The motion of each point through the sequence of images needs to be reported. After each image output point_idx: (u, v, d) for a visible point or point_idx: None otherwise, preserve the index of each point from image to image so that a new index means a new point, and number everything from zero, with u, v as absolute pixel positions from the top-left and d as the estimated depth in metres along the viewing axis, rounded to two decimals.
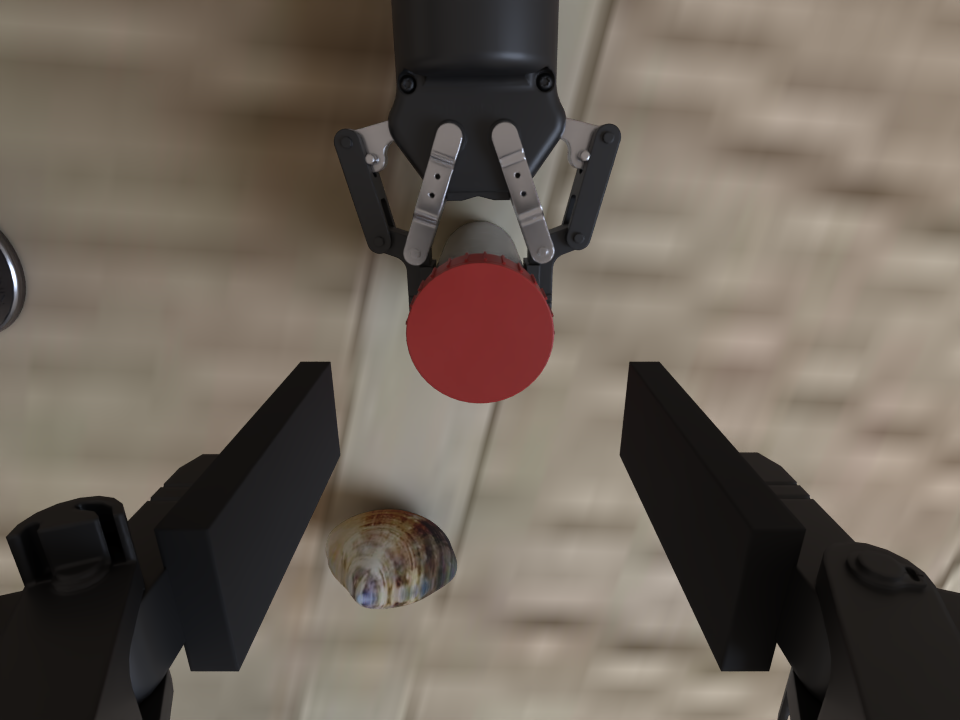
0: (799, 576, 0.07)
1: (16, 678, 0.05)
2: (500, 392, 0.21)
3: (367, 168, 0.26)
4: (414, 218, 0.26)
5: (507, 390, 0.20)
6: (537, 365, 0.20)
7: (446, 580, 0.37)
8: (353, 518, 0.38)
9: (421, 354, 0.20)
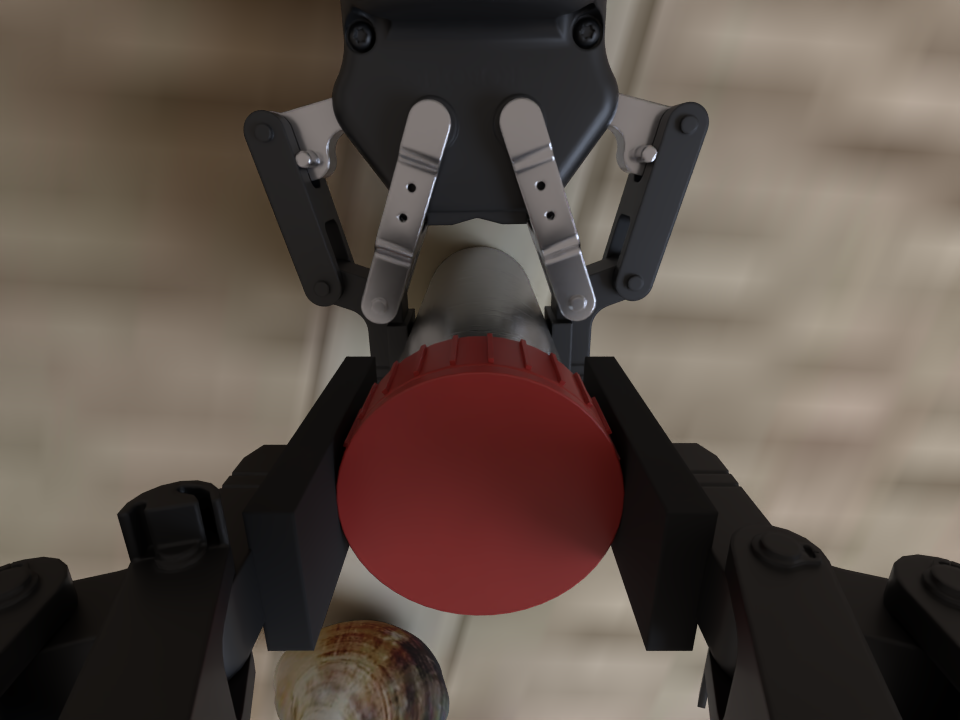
0: (713, 557, 0.08)
1: (126, 650, 0.06)
2: (518, 598, 0.11)
3: (299, 174, 0.16)
4: (376, 253, 0.17)
5: (531, 595, 0.11)
6: (590, 554, 0.11)
7: None
8: None
9: (367, 536, 0.10)
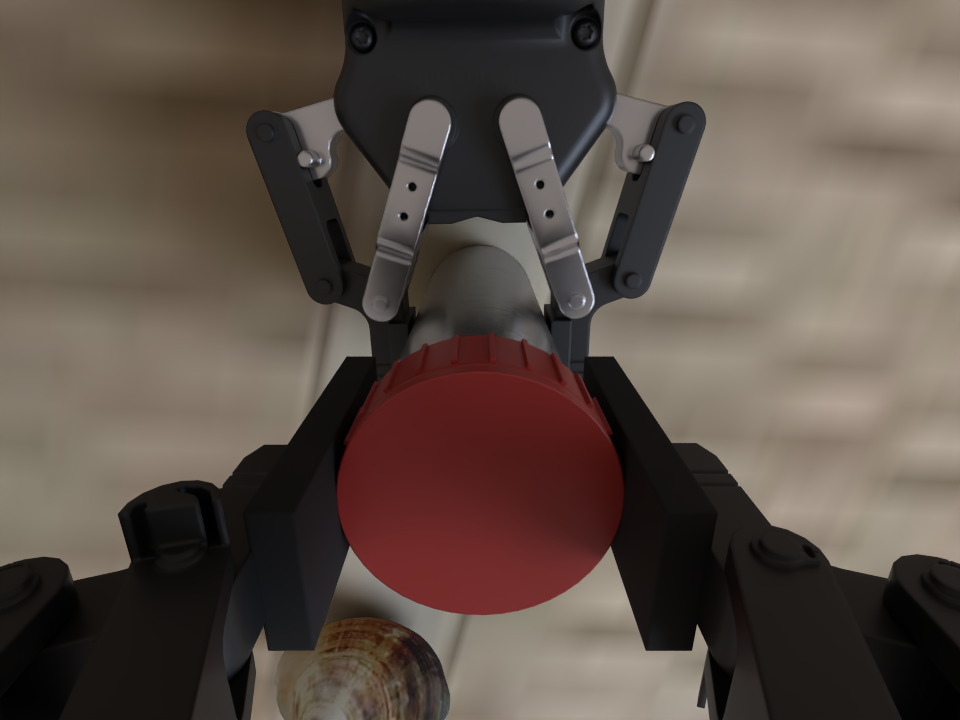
0: (712, 557, 0.08)
1: (126, 648, 0.06)
2: (606, 504, 0.10)
3: (301, 174, 0.16)
4: (377, 251, 0.17)
5: (608, 491, 0.10)
6: (579, 426, 0.10)
7: None
8: None
9: (478, 599, 0.11)
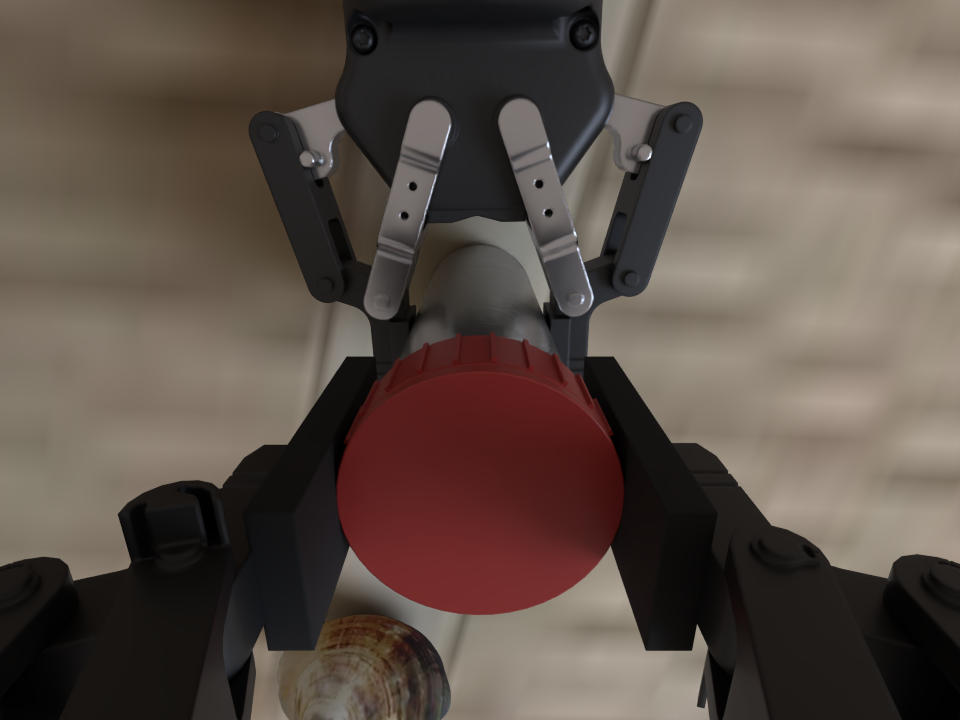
0: (712, 557, 0.08)
1: (126, 649, 0.06)
2: (522, 395, 0.09)
3: (303, 174, 0.16)
4: (379, 250, 0.17)
5: (507, 391, 0.09)
6: (420, 398, 0.09)
7: None
8: None
9: (592, 537, 0.10)
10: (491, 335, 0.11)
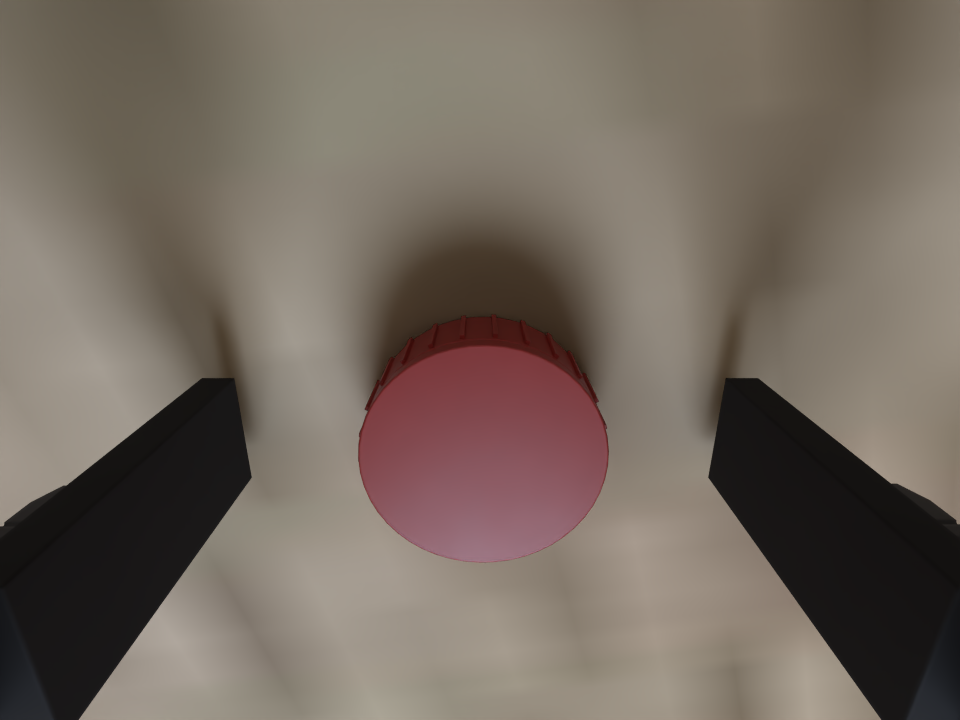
0: None
1: None
2: (520, 365, 0.11)
3: None
4: None
5: (507, 361, 0.11)
6: (432, 368, 0.11)
7: None
8: None
9: (580, 491, 0.12)
10: (492, 316, 0.12)
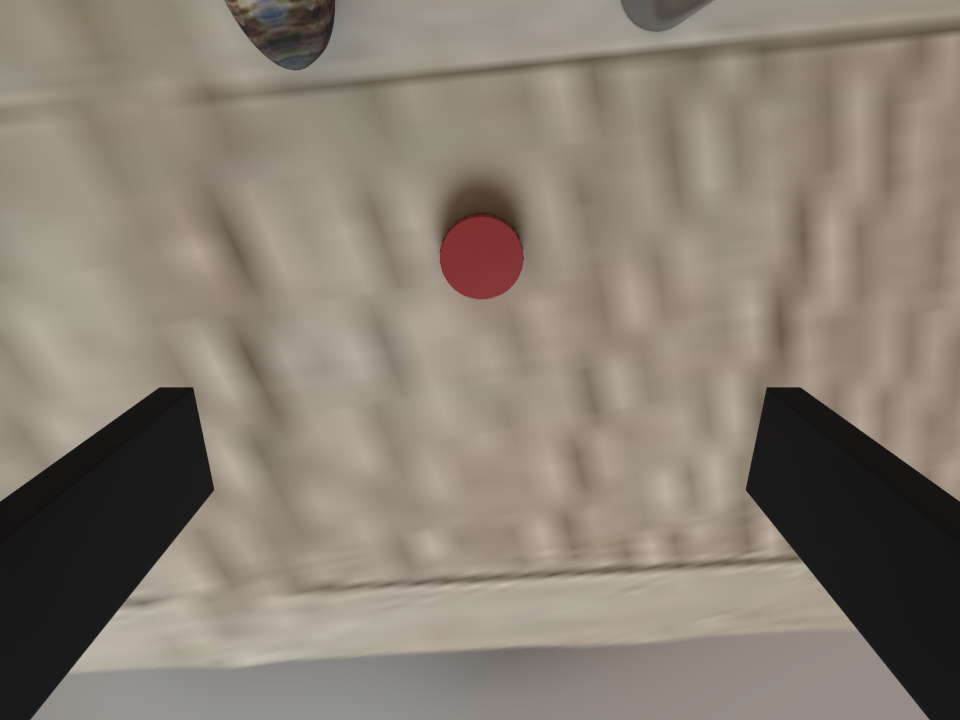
0: None
1: None
2: (493, 223, 0.34)
3: None
4: None
5: (489, 222, 0.34)
6: (465, 224, 0.34)
7: (284, 53, 0.28)
8: None
9: (514, 270, 0.35)
10: (485, 212, 0.36)
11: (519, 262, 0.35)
